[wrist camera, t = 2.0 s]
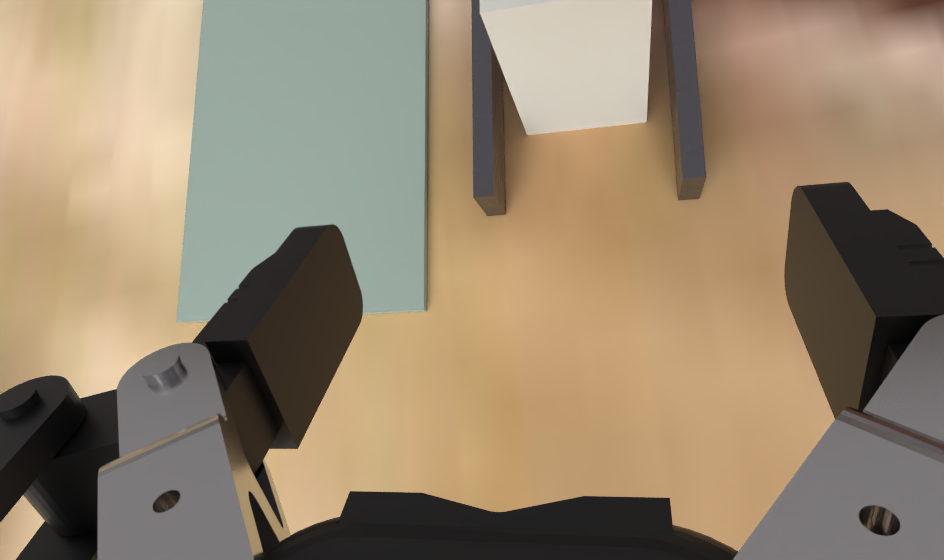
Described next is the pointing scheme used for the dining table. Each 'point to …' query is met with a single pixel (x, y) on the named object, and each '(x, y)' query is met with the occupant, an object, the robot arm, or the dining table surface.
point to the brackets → (492, 110)
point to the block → (573, 60)
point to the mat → (309, 144)
